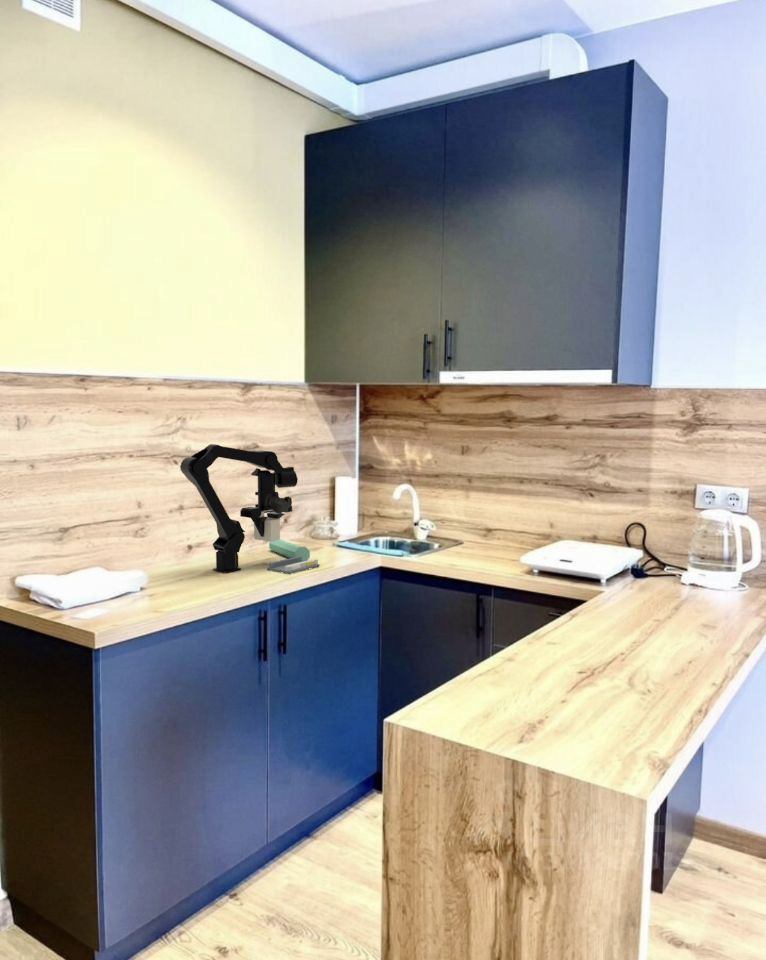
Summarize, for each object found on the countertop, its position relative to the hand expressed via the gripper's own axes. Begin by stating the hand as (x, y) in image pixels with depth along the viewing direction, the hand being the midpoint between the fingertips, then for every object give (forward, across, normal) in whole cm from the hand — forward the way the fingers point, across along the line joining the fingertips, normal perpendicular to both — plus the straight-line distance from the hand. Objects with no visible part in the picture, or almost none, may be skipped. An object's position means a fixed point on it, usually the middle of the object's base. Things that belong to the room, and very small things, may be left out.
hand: (267, 535), depth 249 cm
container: (+10, +14, +5) cm, 18 cm away
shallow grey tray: (+10, +1, -11) cm, 15 cm away
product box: (+1, 0, 0) cm, 1 cm away
